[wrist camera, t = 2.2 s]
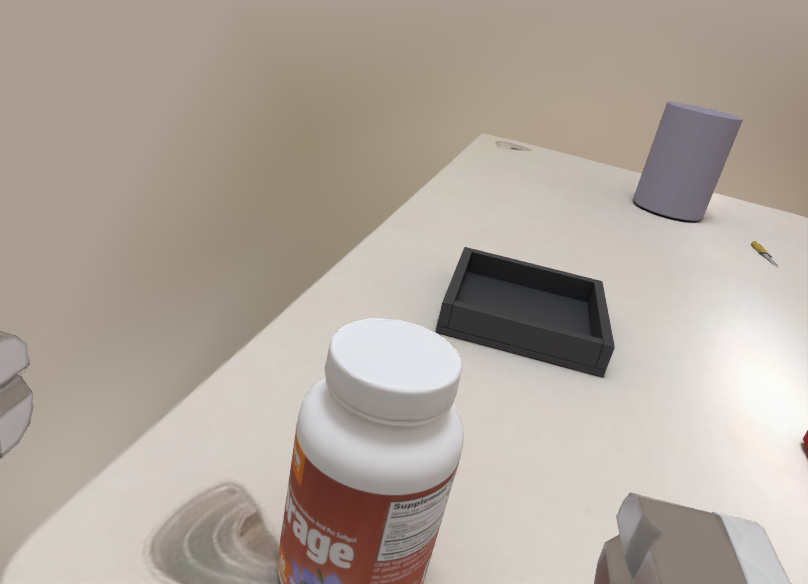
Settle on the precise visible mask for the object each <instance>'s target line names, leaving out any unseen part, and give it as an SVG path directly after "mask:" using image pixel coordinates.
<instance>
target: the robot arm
mask: <svg viewBox="0 0 808 584" xmlns="http://www.w3.org/2000/svg"><path fill="white" fill-rule="evenodd" d="M29 364H30V363H29V356H28V349H27V344H26V343H25V342H24V341H23V340H21V339H20V338H19V337H18V336H16V335H12V334H9V333H5V332H2V331H0V458H2V457H3V456H4V455H6V454H7V453H8V452H9V451H10V450H11V449H12V448H14V446H16V445H17V444H18V443H19V441H20V440H21V438H22V436H23V435H24V433H25V431H26V430H27V428H28V426H29V425H30V421H31V417H32V412H33V394H32V391H31V390H30V388H29V387H28V385H27V384H26V382H25V381H24V380H23V378H22V377H21V374H22V373H23V372H24V371H25V370H26V369H27V367H28V366H29ZM616 517H617V522H618V528H619V533H620V534H619V535H618V536H616V537H614V538H612V539H610V540H609V541H607V542H605V544H604V547H603V549H602V552H601V555H600V557H599V560H598V563H597V568H596V574H595V580H594V584H791V583H790V581H789V578H788V576H787V574H786V572H785V570H784V568H783V566H782V564H781V562H780V560H779V558H778V556H777V554H776V552H775V550H774V548H773V546H772V544H771V542H770V539H769V537H768V535H767V533H766V531H765V530H764V528H763V527H761V526H760V525H759V524H758V523H757V522H756V521H752V520H747V519H743V518H738V517H734V516H729V515H725V514H721V513H716V512H712V513H710V512H706V511H702V510H698V509H694V508H690V507H686V506H682V505H678V504H674V503H670V502H666V501H662V500H658V499H654V498H650V497H646V496H642V495H638V494H634V493H629V495H628V496H627V497H626V498H625V499H624V501H623V502H622V505H621V507H620V509H619V511H618V514H617V516H616Z"/></svg>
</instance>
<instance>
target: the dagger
mask: <svg viewBox="0 0 808 584" xmlns="http://www.w3.org/2000/svg"><path fill="white" fill-rule="evenodd" d="M751 245H752V246H753V247H754V249H755V250H757V251H758V252H759V254H760V255H762V256H764V257H765V258H767V259H768V260H769V261H770V262H771V263H772V264H773V265H774V266H776V267H778V265H777V264H776V263H775V262H774V261H773V260H772V259H771V258H770V257H772V256H770V255H769V254H768V253H767V251H766V250H765V249H764V248H763V247H762V246H761V245H760V244H758V243H757V242H756V241H753V242H752V243H751Z"/></svg>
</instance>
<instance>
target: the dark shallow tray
mask: <svg viewBox="0 0 808 584" xmlns="http://www.w3.org/2000/svg"><path fill="white" fill-rule="evenodd" d="M436 332H437V333H441V334H445V335H449V336H452V337H456V338H460V339H464V340H467V341H471V342H475V343H478V344H482V345H486V346H490V347H493V348H497V349H501V350H504V351H508V352H512V353H516V354H519V355H523V356H527V357H530V358H534V359H538V360H542V361H545V362H549V363H553V364H556V365H560V366H564V367H568V368H571V369H575V370H579V371H582V372H586V373H590V374H594V375H597V376H601V377H604V374H605V372H606V369H607V366H608V364H609V361H610V358H611V356H612V353H613V350H614V348H615V346H614V341H613V336H612V330H611V325H610V320H609V315H608V309H607V304H606V299H605V293H604V288H603V283H602V281H599V280H595V279H594V280H593V279H591V278H587V277H583V276H579V275H575V274H571V273H567V272H563V271H559V270H555V269H551V268H547V267H543V266H539V265H535V264H531V263H527V262H523V261H519V260H515V259H511V258H507V257H503V256H499V255H495V254H491V253H487V252H483V251H479V250H475V249H471V248H467V247H464V250H463V252H462V255H461V257H460V260H459V262H458V265H457V267H456V270H455V272H454V275H453V277H452V280H451V282H450V285H449V287H448V290H447V292H446V295H445V297H444V300H443V302H442V306H441V311H440V315H439V319H438V324H437V328H436Z"/></svg>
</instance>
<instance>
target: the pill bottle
mask: <svg viewBox="0 0 808 584" xmlns="http://www.w3.org/2000/svg"><path fill="white" fill-rule="evenodd" d="M461 371H462V363H461V359H460V356H459V354H458V352H457V351H456V349H455V348H454V347H453V346H452V345H451V344H450V343H449V342H448V341H447V340H445V339H444V338H443V337H441V336H440V335H438V334H437V333H435V332H433V331H431V330H429V329H427V328H424V327H422V326H419V325H417V324H414V323H410V322H406V321H401V320H396V319H387V318H370V319H363V320H357V321H354V322H351V323H348V324H346V325H345V326H343V327H341V328H340V329H339V330H338V331H337V332H336V333H335V334H334V335H333V337H332V339H331V341H330V345H329V350H328V356H327V361H326V365H325V376H326V377H324V378H323V379H322V380H320V381H319V382H318V383H316V384H315V385H314V386H313V387H312V388H311V390H310V391H309V392H308V394H307V395H306V397H305V398H304V400H303V402H302V405H301V408H300V411H299V416H298V421H297V426H296V434H295V441H294V449H293V456H292V463H291V470H290V477H289V484H288V491H287V498H286V505H285V512H284V519H283V526H282V533H281V538H280V546H279V553H278V573H279V578H280V582H281V584H423V582H424V579H425V575H426V572H427V568H428V565H429V562H430V558H431V555H432V551H433V548H434V545H435V541H436V538H437V534H438V531H439V527H440V524H441V521H442V518H443V514H444V510H445V507H446V504H447V500H448V497H449V493H450V490H451V487H452V483H453V480H454V477H455V474H456V470H457V467H458V464H459V460H460V457H461V452H462V448H463V441H464V432H463V426H462V422H461V419H460V417H459V414H458V412H457V410H456V408H455V407H454V405H453V402H454V399H455V397H456V394H457V388H458V384H459V380H460V375H461Z"/></svg>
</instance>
